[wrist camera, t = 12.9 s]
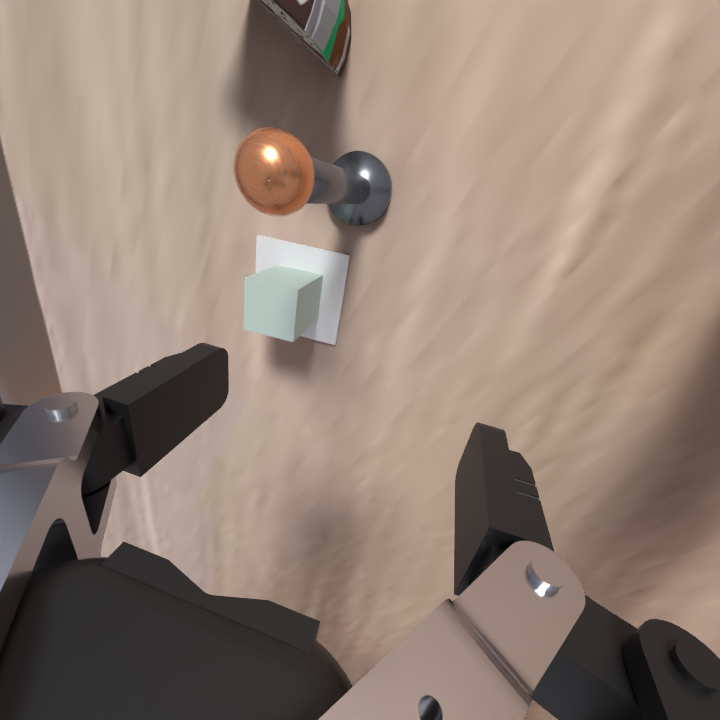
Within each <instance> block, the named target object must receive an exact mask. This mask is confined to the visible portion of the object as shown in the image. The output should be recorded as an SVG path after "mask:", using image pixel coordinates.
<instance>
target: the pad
mask: <svg viewBox="0 0 720 720" xmlns="http://www.w3.org/2000/svg"><path fill="white" fill-rule="evenodd" d="M349 258H350V255H347V254H342V253H338V252H333V251H329V250H324V249H320V248H315V247H311V246H306V245H302V244H297V243H293V242H288V241H284V240H279V239H275V238H270V237H266V236H261V235H257V249H256V273H258V272H261V271H263V270H266V269H269V268H272V267H274V266H277V265H282V266H286V267H290V268H295V269H299V270H303V271H308V272H312V273H316V274H321V275H323V282H322V290H321V298H320V306H319V314H318V320H317V321H316V322H315V323H314V324H313V325H311V326H310V327H309V328H308V329H307V330H306V331H305V332H304V333H303V334H302V335H301V337H305V338H309V339H313V340H317V341H321V342H325V343H329V344H332V345H336V341H337V334H338V328H339V322H340V315H341V309H342V303H343V296H344V290H345V284H346V277H347V271H348V264H349Z"/></svg>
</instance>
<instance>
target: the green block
mask: <svg viewBox="0 0 720 720" xmlns="http://www.w3.org/2000/svg"><path fill="white" fill-rule="evenodd" d="M322 282H323V275H321V274H316V273H312V272H308V271H303V270H299V269H295V268H290V267H286V266H282V265H277V266H274V267H272V268H269V269H266V270H263V271H261V272H258V273H255V274H252V275H250V276H247V277H245V289H244V330H248V331H251V332H255V333H259V334H263V335H267V336H271V337H275V338H279V339H282V340H286V341H290V342H294V341H295V340H296V339H297V338H298V337H299V336H301V335H302V334H303V333H304V332H305V331H306V330H307V329H308V328H309V327H310V326H311V325H313V324H314V323H315V322H316V321H317V320H318V314H319V306H320V298H321V290H322Z"/></svg>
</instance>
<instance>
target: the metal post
mask: <svg viewBox="0 0 720 720" xmlns="http://www.w3.org/2000/svg"><path fill="white" fill-rule="evenodd" d="M234 175H235V180H236V183H237V186H238V188H239V190H240V192H241V194H242V195H243V197H244V198H245V199H246V201H247V202H248V203H249V204H250V205H251V206H253V207H254V208H255V209H257V210H258V211H260V212H262V213H264V214H267V215H270V216H277V217H282V216H288V215H291V214H293V213H295V212H297V211H298V210H300V209H301V208H302V207H303V206H304V205H305V204H306V203H314V204H329V206H330V208H331V209H332V211H333V212H334V214H335V215H336V216H337V217H338V218H339V219H341V220H342V221H344V222H346V223H348V224H352V225H364V224H368V223H371V222H373V221H375V220H376V219H378V218H379V217H380V216H381V215H382V214H383V213H384V212H385V210H386V209H387V207H388V205H389V202H390V199H391V195H392V182H391V177H390V174H389V172H388V170H387V168H386V167H385V165H384V164H383V163H382V162H381V161H380V160H379V159H378V158H376V157H375V156H373V155H372V154H370V153H367V152H363V151H353V152H349V153H347V154H345V155H343V156H341V157H340V158H339V159H338V160H337V161H336V162H335V163H334V164H330V163H327V162H325V161H322V160H319V159H317V158H314V157H311V156H310V154H309V153H308V151H307V149H306V148H305V146H304V145H303V144H302V143H301V141H300V140H299V139H298V138H296V137H295V136H294V135H292V134H291V133H289V132H288V131H285V130H283V129H280V128H276V127H263V128H259V129H257V130H254V131H252V132H251V133H249V134H248V135H247V136H246V137H245V138H244V139H243V140H242V141H241V143H240V145H239V146H238V148H237V151H236V154H235V158H234Z"/></svg>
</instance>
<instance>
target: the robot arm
mask: <svg viewBox="0 0 720 720" xmlns="http://www.w3.org/2000/svg"><path fill="white" fill-rule="evenodd" d="M228 389H229V388H228V353H227V351H226V350H225V349H223V348H220V347H216V346H213V345H209V344H206V343H199V344H197V345H196V346H194V347H192V348H190V349H188V350H186V351H185V352H183V353H179V354H175V355H172V356H168V357H165V358H163V359H161V360H159V361H157V362H155V363H153V364H151V366H150V367H149V366H148V367H146V368H144V369H142V370H140V371H139V373H134V374H132V375H131V376H129V377H127V378H125V379H123V380H121V381H119V382H117V383H115V384H114V385H112V386H110V387H108V388H106V389H104V390H102V391H100V392H98V393H97V394H95V395H91V394H88V393H83V392H67V393H60V394H55V395H51V396H48V397H45V398H43V399H40V400H38V401H36V402H34V403H32V404H31V405H29V406H23V405H9V404H3V402H2V400H1V397H0V720H522V719H523V717H524V716H525V714H526V712H527V710H528V708H529V707H530V705H531V702H532V700H534V701H536V702H537V703H538V704H539V705H541V706H542V707H543V708H544V709H546V710H547V711H548V712H549V713H551V714H552V715H553V716H554V717H556V718H557V719H558V720H720V659H719V658H718V657H717V656H716V655H715V654H714V653H713V652H712V651H711V650H710V649H709V648H708V647H707V646H706V645H705V644H703V643H702V642H701V641H700V640H698V639H697V638H696V637H694V636H693V635H692V634H690V633H689V632H687V631H686V630H684V629H682V628H680V627H679V626H677V625H674V624H672V623H670V622H667V621H664V620H658V619H650V620H648V621H646V622H644V623H643V624H642V625H641V626H640V627H639V628H638V629H637V628H635V627H634V626H632V625H631V624H629V623H627V622H626V621H624V620H623V619H621V618H619V617H618V616H616V615H615V614H613V613H612V612H610V611H608V610H607V609H605V608H604V607H602V606H600V605H599V604H597V603H596V602H594V601H593V600H591V599H590V598H589V597H588V596H586V595H585V593H584V590H583V587H582V584H581V582H580V580H579V579H578V577H577V575H576V574H575V572H574V571H573V570H572V568H571V567H570V566H569V565H568V564H567V563H566V562H565V561H564V560H563V559H562V558H561V557H560V556H559V555H557V554H556V553H555V552H554V549H553V546H552V542H551V538H550V535H549V531H548V527H547V524H546V520H545V517H544V513H543V509H542V506H541V502H540V500H539V495H538V491H537V488H536V487H535V480H534V477H533V473H532V469H531V468H530V466H529V465H528V463H527V462H526V461H525V459H524V458H523V457H522V455H521V454H520V453H518V452H514V451H511V450H509V448H508V443H507V438H506V433H505V431H504V430H502V429H499V428H495V427H492V426H488V425H485V424H481V423H476V424H475V426H474V428H473V430H472V433H471V435H470V438H469V440H468V443H467V445H466V447H465V450H464V452H463V455H462V457H461V460H460V462H459V465H458V469H457V473H456V479H455V553H454V594H455V595H458V597H457V598H456V599H455V600H454V601H451V600H450V599H447V600H445V601H444V602H442V603H441V604H440V605H439V606H438V607H436V608H435V609H434V610H433V611H432V612H431V613H430V614H429V615H428V616H427V617H426V618H425V619H424V620H423V621H422V622H421V623H420V624H418V625H417V626H416V627H415V628H414V629H413V630H412V631H411V632H410V633H409V634H408V635H407V636H406V637H405V638H404V639H403V640H402V641H401V642H399V643H398V644H397V645H396V646H395V647H394V648H393V649H392V650H391V651H390V652H389V653H388V654H387V655H386V656H385V657H384V658H383V659H382V660H380V661H379V662H378V663H377V664H376V665H375V666H374V667H373V668H372V669H371V670H370V671H369V672H368V673H367V674H366V675H365V676H364V677H363V678H362V679H360V680H359V681H358V682H357V683H356V684H355V685H354V686H352V685H351V683H350V681H349V679H348V677H347V675H346V674H345V672H344V671H343V669H342V668H341V666H340V665H339V663H338V662H337V661H336V660H335V658H334V657H333V656H332V655H331V654H330V653H329V652H328V651H327V649H326V648H325V647H323V646H322V645H321V644H320V643H319V642H318V641H317V640H316V637H317V633H318V628H319V623H320V621H318V620H315V619H313V618H310V617H308V616H305V615H303V614H300V613H298V612H296V611H293V610H291V609H288V608H286V607H283V606H281V605H278V604H276V603H273V602H271V601H268V600H259V599H248V598H237V597H226V596H215V595H209V594H207V593H205V592H204V591H202V590H201V589H200V588H199V587H198V586H197V585H196V584H195V583H194V582H192V581H191V580H190V579H189V578H188V577H187V576H186V575H185V574H184V573H182V572H181V571H180V570H179V569H178V568H177V567H176V566H175V565H174V564H172V563H171V562H170V561H169V560H167V559H165V558H163V557H160V556H158V555H155V554H153V553H150V552H148V551H145V550H143V549H140V548H138V547H135V546H133V545H131V544H128V543H126V542H123V543H122V544H121V545H120V546H119V547H118V548H117V549H116V550H115V551H114V552H113V553H112V554H111V555H110V556H109V557H108V558H107V557H102V558H101V547H102V542H103V538H104V534H105V530H106V526H107V522H108V517H109V513H110V509H111V505H112V501H113V497H114V493H115V489H116V484H117V483H116V478H115V476H117V475H118V474H119V473H120V472H122V471H126V472H128V473H131V474H134V475H137V476H139V477H141V476H142V475H144V474H145V473H146V472H147V471H148V470H149V469H150V468H152V467H153V466H154V465H155V464H156V463H157V462H159V461H160V460H161V459H162V458H163V457H164V456H165V455H167V454H168V453H169V452H170V451H171V450H172V449H174V448H175V447H176V446H177V445H178V444H179V443H180V442H182V441H183V440H184V439H185V438H186V437H187V436H189V435H190V434H191V433H192V432H193V431H194V430H195V429H197V428H198V427H199V426H200V425H201V424H202V423H204V422H205V421H206V420H207V419H208V418H209V417H211V416H212V415H213V414H214V413H215V412H216V411H217V410H219V409H220V408H221V407H222V405H223V404H224V402H225V401H226V398H227V395H228Z"/></svg>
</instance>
